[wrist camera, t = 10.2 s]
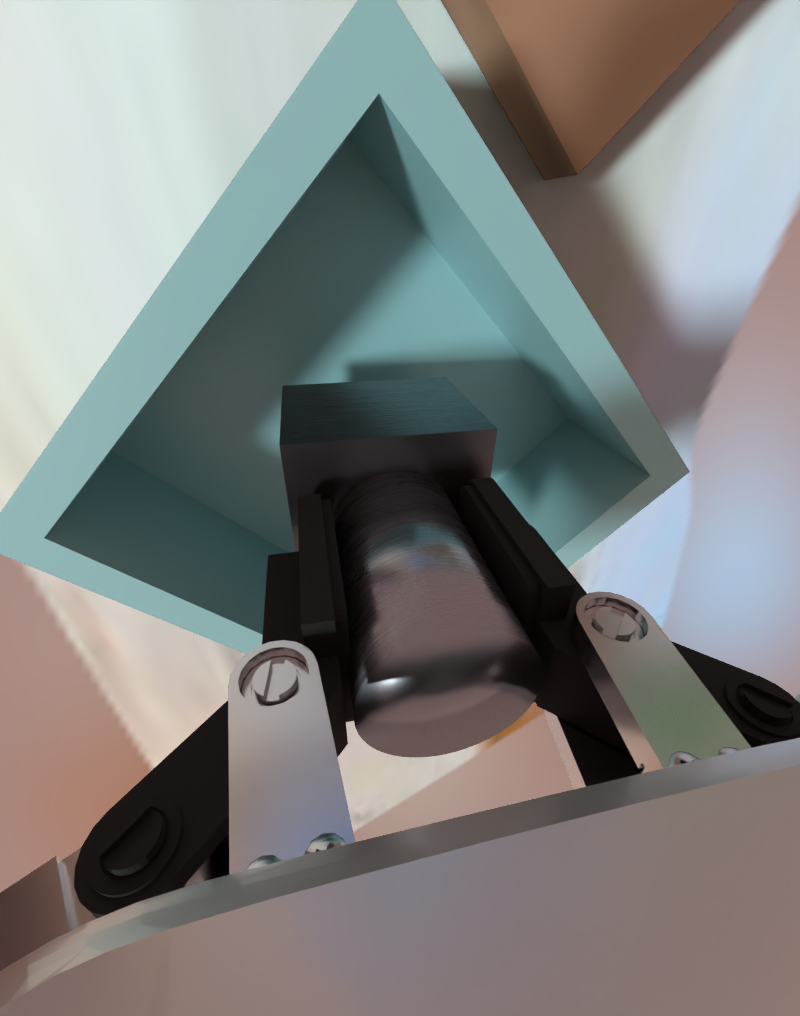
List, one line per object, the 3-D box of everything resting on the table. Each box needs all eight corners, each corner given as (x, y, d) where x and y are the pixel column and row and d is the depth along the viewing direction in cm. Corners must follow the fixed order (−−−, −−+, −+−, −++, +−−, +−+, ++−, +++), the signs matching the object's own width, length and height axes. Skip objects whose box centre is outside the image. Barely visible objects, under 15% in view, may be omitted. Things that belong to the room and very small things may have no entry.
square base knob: (445, 376, 14) (632, 564, 6) (436, 510, 17) (560, 753, 9) (282, 385, 13) (270, 615, 5) (301, 524, 16) (311, 807, 8)
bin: (586, 406, 19) (689, 471, 14) (365, 604, 23) (386, 711, 18) (341, 75, 12) (377, -28, 7) (77, 442, 16) (-22, 544, 11)
